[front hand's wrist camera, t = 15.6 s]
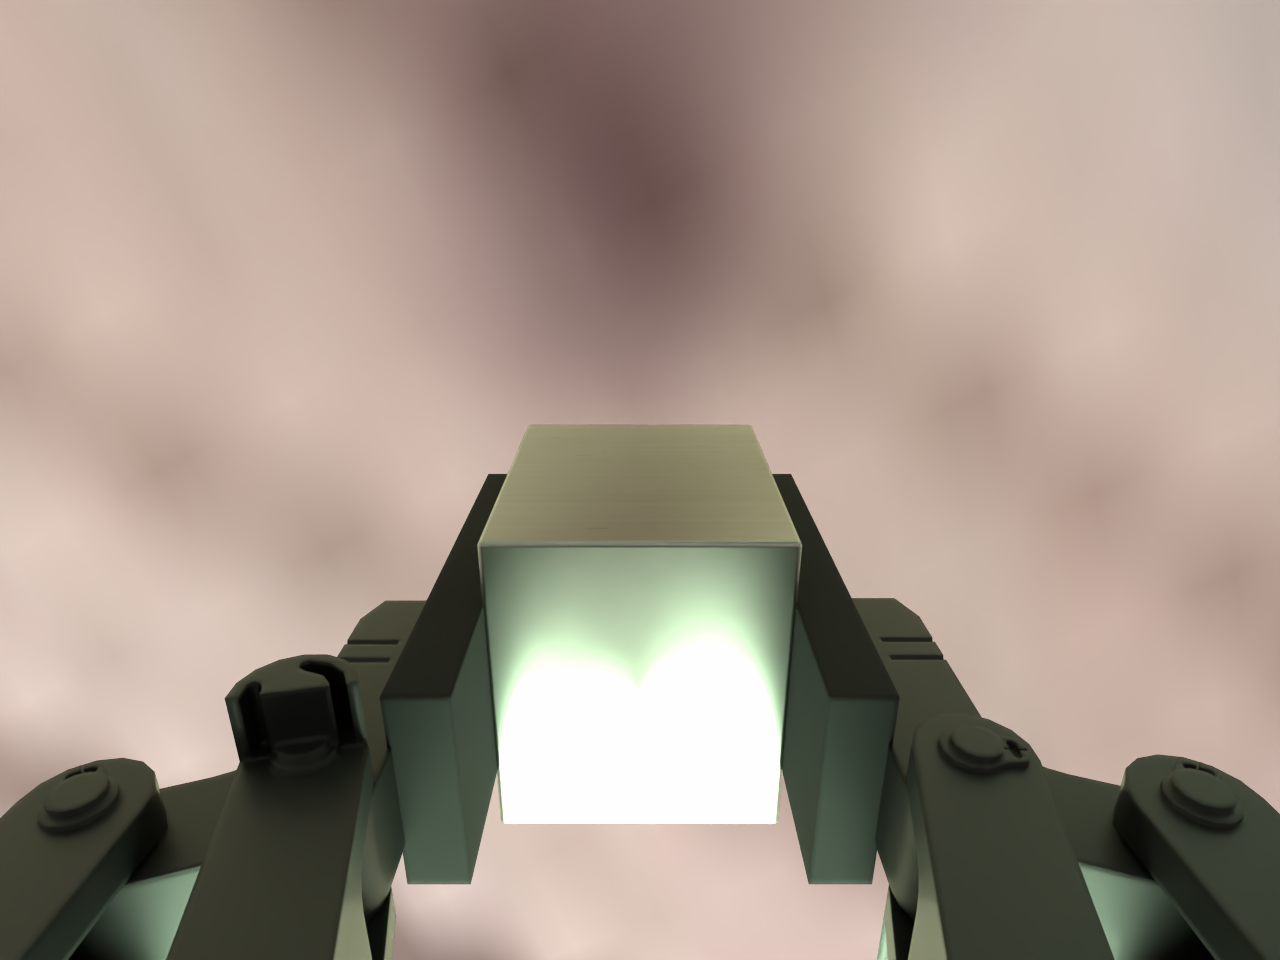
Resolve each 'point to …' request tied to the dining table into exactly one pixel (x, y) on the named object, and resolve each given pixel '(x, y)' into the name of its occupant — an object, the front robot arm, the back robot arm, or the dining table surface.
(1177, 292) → the dining table surface
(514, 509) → the block
